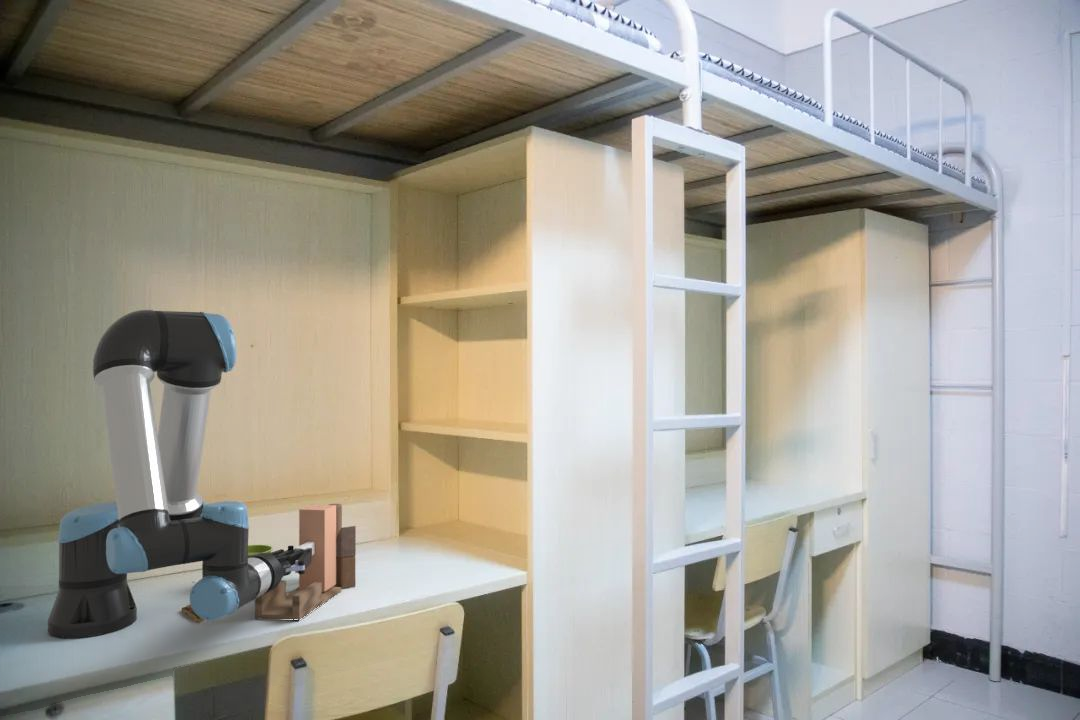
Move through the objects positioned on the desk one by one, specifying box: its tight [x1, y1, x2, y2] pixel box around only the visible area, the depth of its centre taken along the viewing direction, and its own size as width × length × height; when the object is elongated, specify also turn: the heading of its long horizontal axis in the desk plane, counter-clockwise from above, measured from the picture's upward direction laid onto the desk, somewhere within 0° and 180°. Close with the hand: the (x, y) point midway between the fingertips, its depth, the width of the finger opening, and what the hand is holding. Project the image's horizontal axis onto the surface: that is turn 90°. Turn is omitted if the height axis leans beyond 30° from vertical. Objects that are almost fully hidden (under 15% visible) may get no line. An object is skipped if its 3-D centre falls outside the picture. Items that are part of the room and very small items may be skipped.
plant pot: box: [248, 544, 273, 558], centre depth 174 cm, size 9×9×9 cm
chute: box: [254, 579, 342, 621], centre depth 160 cm, size 20×10×5 cm, turn 171°
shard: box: [181, 603, 206, 624], centre depth 154 cm, size 11×8×2 cm
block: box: [298, 504, 336, 592], centre depth 169 cm, size 6×6×18 cm
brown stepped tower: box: [328, 503, 357, 590], centre depth 177 cm, size 4×11×18 cm, turn 37°
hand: (311, 547), depth 166 cm, fingers closed
